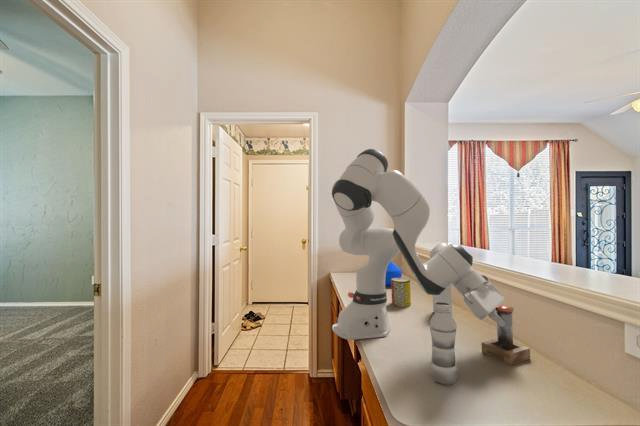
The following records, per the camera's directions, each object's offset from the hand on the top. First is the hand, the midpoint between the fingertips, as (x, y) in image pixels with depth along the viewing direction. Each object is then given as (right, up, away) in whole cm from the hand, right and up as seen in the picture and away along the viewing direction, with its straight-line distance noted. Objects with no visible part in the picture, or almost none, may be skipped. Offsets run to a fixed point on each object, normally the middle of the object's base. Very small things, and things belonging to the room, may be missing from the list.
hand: (506, 322), depth 88 cm
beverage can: (-17, -12, +54) cm, 58 cm away
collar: (0, -10, +1) cm, 10 cm away
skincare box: (-4, -11, +38) cm, 40 cm away
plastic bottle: (-25, -10, -13) cm, 30 cm away
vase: (-14, -12, +97) cm, 98 cm away
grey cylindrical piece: (0, -6, 0) cm, 6 cm away
